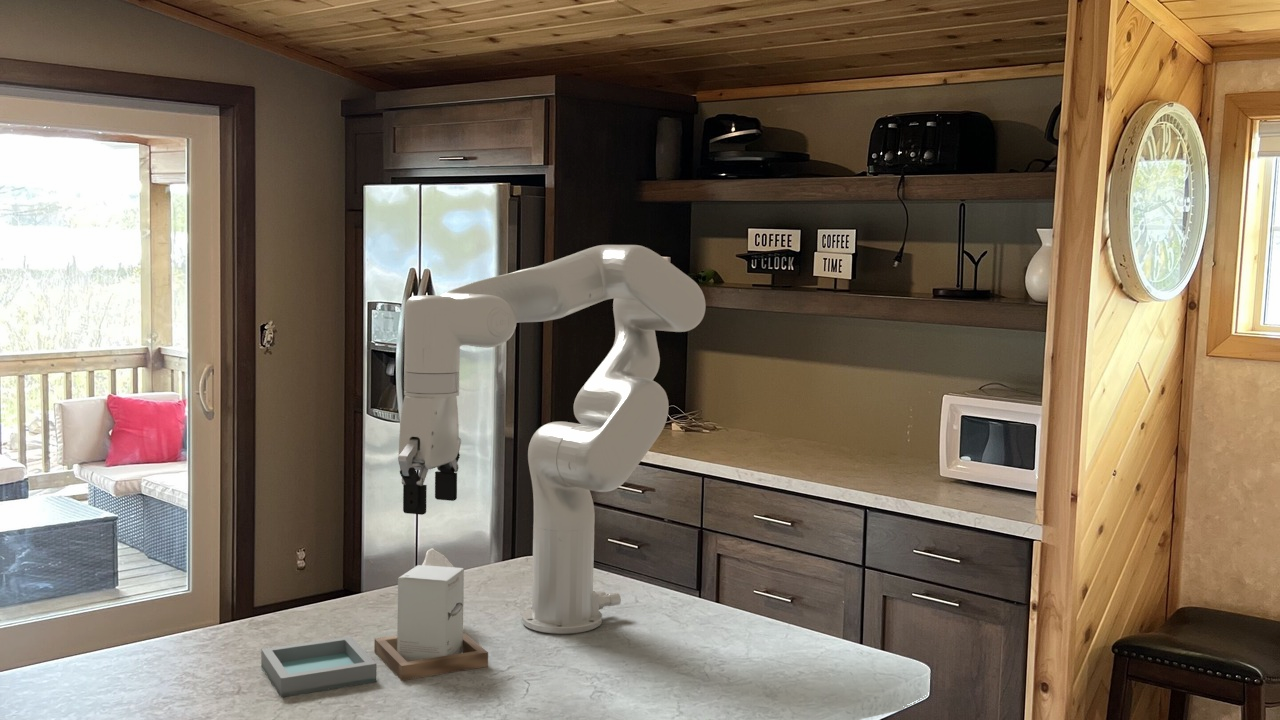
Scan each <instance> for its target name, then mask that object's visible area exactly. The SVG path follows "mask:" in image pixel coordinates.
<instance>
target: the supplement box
mask: <svg viewBox="0 0 1280 720" xmlns="http://www.w3.org/2000/svg"><path fill="white" fill-rule="evenodd" d="M464 571H465V568H463V567H455V566H454V567H442V566H425V565H422V564H418V565H415V566H414V567H413V568H412V569H410V570H408V571H407V572H405V573H403V574H402V575H400V576H399V577H398V578H397V632H396V633H397V652H398V653H399V654H400V655H401V656H402V657H403V658H404V659H405V660H406V661H407V662H410V661H416V660H422V659H429V658H435V657H442V656H448V655H454V654H461V653H462V652H463V632H464V605H465V604H464V603H465V602H464V601H465V600H464V598H465V597H464V596H465V595H464V594H465V593H464V591H465V590H464V588H465V587H464V585H465V572H464Z"/></svg>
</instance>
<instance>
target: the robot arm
mask: <svg viewBox="0 0 1280 720" xmlns="http://www.w3.org/2000/svg"><path fill="white" fill-rule="evenodd" d="M612 299H613V303H612V307H613V308H612V311H613V318H614V328H615V330H614V331H615V335H614V336H615V337H614V341H613V345H612V347H611V348H610V350H609V352H608V353H607V355H606V356H605V358H603V360H602V361H601V363H600V364H599V365H598V366H597V368H596V369H595V370H594V372H592V374H591V375H590V377H589V378H588V379H587V381H586V382H585V383H584V385H583V386H582V387H581V388H580V390H579V391H578V393H577V395H576V397H575V398H574V403H573V415H574V417H575V419H576V420H577V421H578V422H577V423H576V422H570V421H569V422H568V421H552V422H548V423H546V424H543V425H542V426H540V427H539V428H538V429H537V430H536V431H535V432H534V433H533V435H532V436H531V439H530V442H529V444H528V450H527V461H528V467H529V468H528V469H529V474H530V480H531V487H532V494H533V495H532V496H533V497H532V499H533V523H532V524H533V525H532V527H533V529H532V582H531V583H532V584H531V585H532V587H531V588H532V589H531V590H532V591H531V592H532V593H531V596H532V597H531V607H530V608H527V609H526V610H524V612H522V614H521V622H522V624H523V626H525V627H527V628H529V629H530V630H533V631H536V632H539V633H546V634H554V635H555V634H556V635H563V634H565V635H567V634H578V633H580V634H581V633H584V632H588V631H592V630H594V629H596V628H598V627H599V626H601V625H602V623H603V614H602V612H601V611H600V610H603V609H604V607H614V606H619V605H621V602H622V601H621V600H622V598H621V595H620V593H619V592H614V593H608V594H606V592H605V591H599V592H598V591H594V563H595V562H594V556H595V555H594V553H595V551H594V550H595V523H596V522H595V520H596V519H595V518H596V517H595V515H596V512H595V505H594V500H593V498H592V494H591V492H592V491H593V492H599V493H607V492H612V491H614V490H616V489H618V488H620V487H621V486H622V485H624V483H625V482H626V481H627V480H628V479H629V478H630V476H631V475H632V473H634V471H635V470H636V469H637V467H638V466H639V464H640V463H641V462H642V460H643V458H644V457H645V456H646V454H648V452H649V450H650V449H651V448H652V447H653V445H654V443H656V441H657V439H658V438H659V436H660V435H661V433H662V431H663V430H664V428H665V426H666V423H667V420H668V419H667V418H668V415H669V399H668V395H667V392H666V390H665V389H664V388H663V387H662V386H661V384H659V383H658V382H656V381H654V379H655V377H656V376H657V374H658V372H659V369H660V364H661V363H660V362H661V357H660V351H659V348H658V341H657V336H656V331H660V332H661V331H662V332H663V331H664V332H675V333H682V332H683V333H685V332H689V331H691V330H693V329H695V328H696V327H697V326H698V325H700V323H701V322H702V321H703V319H704V317H705V313H706V307H707V306H706V305H707V304H706V299H705V295H704V293H703V290H702V289H701V288H700V285H698V283H697V282H696V281H695V280H694V279H692V278H691V277H690V276H689V275H687V274H686V273H685V272H683V271H682V270H680V268H678V267H676V266H675V265H674V264H673V263H671V262H670V261H668V260H667V259H666V258H665V257H663V256H661V255H660V254H659V253H657V252H655V251H653V250H652V249H650V248H649V247H647V246H646V247H645V246H643V245H638V244H601V245H596V246H592V247H589V248H585V249H583V250H580V251H577V252H575V253H572V254H570V255H566V256H564V257H561V258H558V259H555V260H553V261H549V262H547V263H543V264H540V265H537V266H534V267H533V266H532V267H528V268H523V269H519V270H516V271H513V272H510V273H505V274H501V275H497V276H491V277H489V278H485V279H484V278H483V279H481V280H477V281H474V282H471V283H468V284H465V285H462V286H459V287H456V288H454V289H451V290H450V289H449V290H448V291H446V292H444V293H441V294H440V295H434V294H433V295H431V294H430V295H413V296H410V297H409V298H408V299H407V300H406V302H405V305H404V357H403V358H404V360H403V361H404V365H403V366H404V367H403V368H404V375H403V378H404V379H403V381H404V382H403V389H404V390H403V395H404V398H403V402H402V407H401V413H400V414H401V415H400V423H399V424H400V425H399V439H398V457H397V461H398V465H399V469H400V470H399V474H400V476H401V484H402V486H403V489H402V491H403V492H402V495H403V496H402V497H403V498H402V504H403V505H402V511H403V513H404V514H410V515H425V514H426V513H427V489H428V488H427V487H428V485H427V484H424V483H425V480H426V478H427V475H428V472H429V470H432V469H435V468H437V471H435V472H434V499H436V500H437V501H439V500H440V501H452V502H453V501H456V500H457V498H458V472H459V464H458V462H459V459H460V457H461V454H460V449H461V444H462V439H461V437H460V434H459V433H460V430H459V429H460V428H459V425H460V424H459V410H458V399H457V397H458V396H460V365H461V364H460V360H461V359H460V356H461V355H460V350H461V347H462V346H469V347H476V348H487V349H488V348H495V347H498V346H501V345H503V344H505V343H506V342H508V341H509V340H510V339H511V338H512V336H513V335H514V333H515V330H516V327H517V323H538V322H547V321H554V320H558V319H562V318H564V317H566V316H569V315H572V314H574V313H576V312H579V311H581V310H583V309H586V308H589V307H590V306H593V305H596V304H598V303H601V302H603V301H607V300H612ZM417 471H419V472H417Z"/></svg>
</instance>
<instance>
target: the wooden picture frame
mask: <svg viewBox="0 0 1280 720" xmlns="http://www.w3.org/2000/svg"><path fill="white" fill-rule="evenodd" d="M374 653H375V655H377V657H378V658H379V659H380V660H381V662H383V663H384V664H385V665H386V666H387V668H389V669H390V670H391V671H392V673H394V674H395V676H397V677H398V679H399V680H400V681H407V680H413V679H419V678H424V677H425V678H426V677H431V676H438V675H443V674H450V673H455V672H456V673H457V672H462V671H467V670H474V669H475V670H476V669H479V668H486V667H488V666H489V652H488V651H487V650H486V649H484V647H482V646H481V645H480V644H478V643H477V642H476V641H475V640H473V639H472V638H471V637H470V636H468V634H466V633H465V632H464V631H463V652H462V653H461V654H454V655H448V656H442V657H435V658H429V659H422V660H416V661H410V662H407V661H406V660H405V659H404V658H403V657H402V656H401V655H400V654H399V653H398V652H397V635H391V636H390V635H389V636H384V637H377V638H374Z"/></svg>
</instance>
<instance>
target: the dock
mask: <svg viewBox="0 0 1280 720" xmlns="http://www.w3.org/2000/svg"><path fill="white" fill-rule="evenodd" d="M260 653H261V654H260V659H261V660H260V661H261V662H260V665H261V666H260V667H261V668H262V670H263V672H264V673H265V675H266V676H267V677H268V679H269V681H270V682H271V684H272V686H273V687H274V689H275V690H276V692H277V694H278V695H279V696H280V698H285V697H291V696H292V697H293V696H298V695H304V694H309V693H310V694H311V693H315V692H321V691H329V690H334V689H340V688H347V687H353V686H360V685H365V684H371V683H376V682H377V665H378V664H377V662H376V661H375V660H374V659H373V658H372V657H371V656H370V655H369V654H368V653H367V652H366V651H365V649H364V648H363V647H362V646H361V645H360V644H359V643H358V642H357V641H356V640H355V639H354V637H352V636H350V635H349V636H343V637H337V638H336V637H335V638H331V639H330V638H327V639H322V640H314V641H309V642H307V641H306V642H301V643H293V644H287V645H279V646H273V647H265V648H261V649H260Z"/></svg>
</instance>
